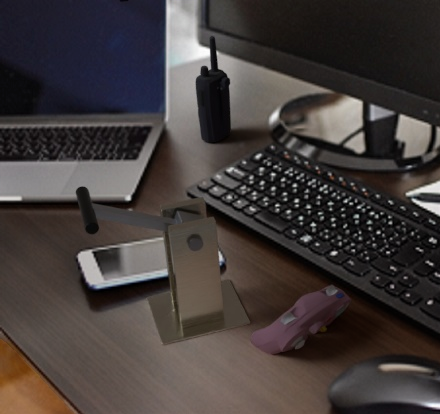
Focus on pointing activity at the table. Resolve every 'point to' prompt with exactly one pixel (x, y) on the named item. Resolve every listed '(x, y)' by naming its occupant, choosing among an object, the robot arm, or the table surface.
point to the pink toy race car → (302, 320)
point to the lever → (124, 215)
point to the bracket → (194, 280)
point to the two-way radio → (213, 100)
